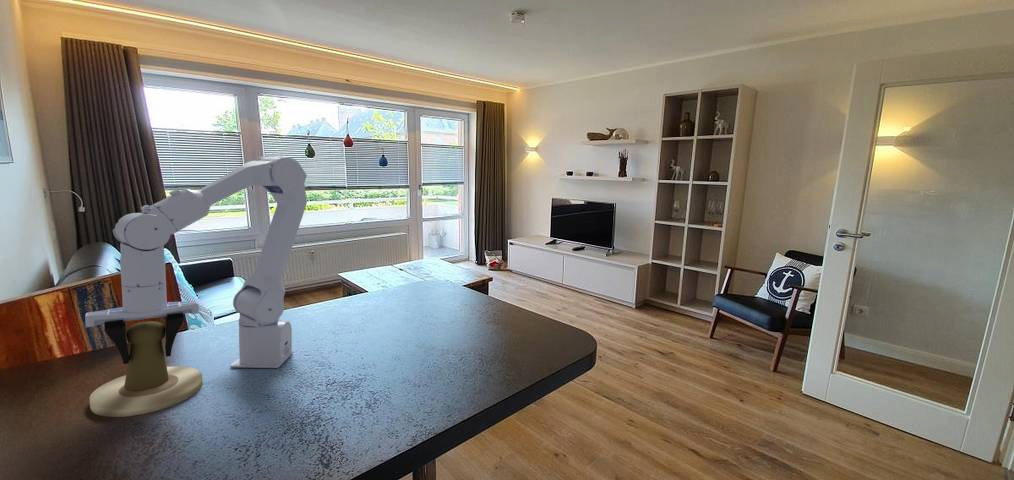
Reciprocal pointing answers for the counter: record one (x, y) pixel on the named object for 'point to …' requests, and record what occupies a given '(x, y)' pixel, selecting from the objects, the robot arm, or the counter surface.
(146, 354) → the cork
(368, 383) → the counter surface
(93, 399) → the birch stand
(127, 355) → the robot arm
